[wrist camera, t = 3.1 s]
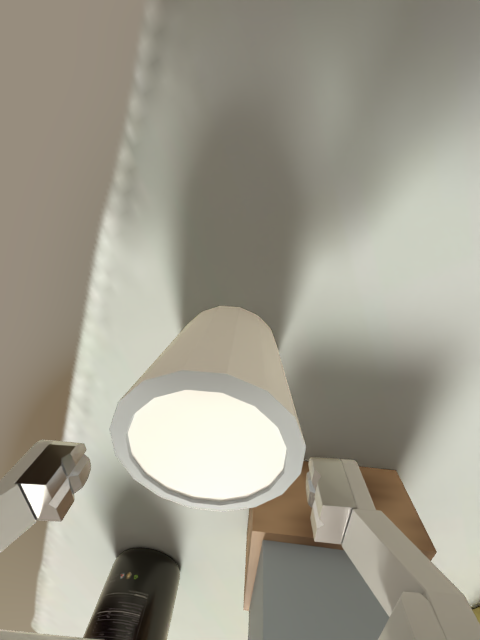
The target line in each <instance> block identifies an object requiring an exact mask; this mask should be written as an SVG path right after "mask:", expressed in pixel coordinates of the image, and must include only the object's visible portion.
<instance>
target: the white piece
mask: <svg viewBox="0 0 480 640" xmlns="http://www.w3.org/2000/svg"><path fill="white" fill-rule="evenodd" d="M109 430H110V434H111V438H112V443H113V447H114V451H115V456H116V457H117V458H118V460H119V461H120V462H121V463H122V465H123V466H124V467H125V469H126V470H127V471H128V473H129V474H130V475H131V476H132V478H133V479H134V480H136V481H137V482H139V483H140V484H141V485H143V486H144V487H146V488H147V489H149V490H150V491H152V492H153V493H155V494H156V495H158V496H159V497H161V498H164V499H167V500H170V501H172V502H175V503H178V504H181V505H184V506H186V507H189V508H194V509H203V510H213V511H222V512H225V511H232V510H239V509H246V508H253V507H257V506H259V505H261V504H263V503H265V502H267V501H270V500H272V499H274V498H276V497H278V496H280V495H282V494H283V493H284V492H285V491H286V490H287V489H288V488H289V486H290V485H291V484H292V483H293V482H294V481H295V480H296V479H297V477H298V476H299V475H300V474H301V470H302V465H303V460H304V455H305V451H306V445H305V441H304V438H303V434H302V431H301V427H300V424H299V420H298V417H297V413H296V410H295V407H294V403H293V400H292V396H291V393H290V389H289V386H288V382H287V379H286V375H285V372H284V369H283V365H282V362H281V358H280V355H279V351H278V348H277V345H276V342H275V339H274V336H273V333H272V330H271V328H270V327H269V326H268V325H267V324H266V323H265V322H264V321H263V320H262V319H261V318H260V317H259V316H258V315H256V314H254V313H252V312H250V311H247V310H245V309H243V308H241V307H232V306H218V307H214V308H211V309H208V310H205V311H202V312H201V313H200V314H198V315H197V316H196V317H195V318H194V319H193V320H192V321H191V322H189V323H188V324H187V326H186V327H185V328H184V329H183V330H182V331H181V332H180V333H179V335H178V336H177V337H176V338H175V339H174V340H173V341H172V342H171V343H170V345H169V346H168V347H167V348H166V349H165V350H164V351H163V352H162V354H161V355H160V356H159V357H158V358H157V359H156V360H155V361H154V363H153V364H152V365H151V366H150V367H149V368H148V369H147V370H146V372H145V373H144V374H143V375H142V376H141V377H140V378H139V379H138V380H137V382H136V383H135V384H134V385H133V386H132V387H131V388H130V389H129V391H128V392H127V393H126V394H125V395H124V396H123V397H122V398H121V400H120V401H119V402H118V404H117V407H116V410H115V413H114V416H113V419H112V422H111V425H110V428H109Z"/></svg>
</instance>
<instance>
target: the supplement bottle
mask: <svg viewBox="0 0 480 640" xmlns="http://www.w3.org/2000/svg"><path fill="white" fill-rule="evenodd" d="M179 579H180V571H179V567H178V565H177V564H176V562H175V561H174V560H173V559H172V558H170V557H169V556H168V555H166V554H164V553H162V552H159V551H156V550H152V549H147V548H134V549H129V550H126V551H124V552H123V553H121V554H120V555H119V556H118V557H117V558H116V560H115V562H114V564H113V566H112V569H111V571H110V573H109V576H108V578H107V581H106V583H105V585H104V588H103V590H102V593H101V595H100V598H99V600H98V602H97V605H96V607H95V610H94V612H93V615H92V617H91V620H90V622H89V624H88V627H87V629H86V632H85V634H84V637H83V638H89V639H99V640H167V636H168V631H169V627H170V622H171V617H172V613H173V608H174V603H175V599H176V594H177V589H178V584H179Z"/></svg>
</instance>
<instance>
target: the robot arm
mask: <svg viewBox="0 0 480 640" xmlns="http://www.w3.org/2000/svg"><path fill="white" fill-rule="evenodd" d="M85 452H86V447H85V444H84V443H74V442H63V441H51V440H40V441H39V442H37V443H35V444H34V445H33V446H32V447H31V449H30V450H29V451H28V452H27V453H26V454H25V455H24V456H23V457H22V458H21V459H20V460H19V461H18V462H17V463H16V464H15V466H13V468H12V469H11V470H10V471H9V472H8V473H7V474H6V475H5V476H4V477H3V478H2V479H1V480H0V552H2V551H3V550H4V549H5V548H6V547H7V546H9V545H10V544H11V543H12V542H13V541H14V540H16V539H17V538H18V537H19V536H20V535H21V534H23V533H24V532H25V531H26V530H27V529H29V528H30V527H31V526H32V525H33V524H34V523H36V520H41V521H62V520H63V518H64V516H65V515H66V513H67V512H68V510H69V508H70V507H71V505H72V504H73V502H74V493H76V492H77V491H78V490H80V489H81V488H82V487H83V486H84V484H85V482H86V481H87V479H88V476H89V473H90V470H91V463H90V459H89V458H88V457H87V456H86V455H85V454H84V453H85ZM308 465H309V472H308V473H307V475H306V495H307V502H308V505H309V506H310V507H311V508H312V512H311V517H310V519H311V525H312V531H313V536H314V541H315V542H324V543H333V544H342V548H343V549H344V550H345V552H346V553H347V555H348V556H349V558H350V559H351V561H352V562H353V564H354V565H355V567H356V568H357V570H358V571H359V573H360V574H361V576H362V577H363V579H364V580H365V582H366V583H367V585H368V586H369V588H370V589H371V591H372V592H373V594H374V595H375V597H376V598H377V600H378V601H379V603H380V604H381V606H382V607H383V609H384V610H385V611H386V613H387V614H388V616H389V619H388V621H387V623H386V625H385V627H384V629H383V631H382V633H381V634H380V636H379V638H378V640H480V624H479V622H478V620H477V618H476V616H475V614H474V613H473V611H472V609H471V607H470V605H469V603H468V601H467V599H466V597H465V596H464V595H463V594H462V593H461V592H460V590H459V589H458V588H457V587H456V586H455V585H454V584H453V583H452V582H451V581H450V580H449V579H448V578H447V577H446V576H445V575H444V574H443V573H442V572H441V571H440V570H439V569H438V568H437V567H436V566H435V565H434V564H433V563H432V562H431V561H430V560H429V559H428V558H427V557H426V556H425V555H424V554H423V553H422V552H421V551H420V550H419V549H418V548H417V547H416V546H415V545H414V544H413V543H412V542H411V541H410V540H409V539H408V538H407V537H406V536H405V535H404V534H403V533H402V532H401V531H400V530H399V529H398V528H397V527H396V526H395V525H394V524H393V523H392V521H391V520H390V519H389V518H388V517H387V516H386V515H385V514H384V513H383V512H382V511H379V510H376V509H375V506H374V504H373V501H372V499H371V496H370V494H369V491H368V489H367V486H366V484H365V481H364V479H363V476H362V474H361V471H360V469H359V466H358V464H357V462H356V461H355V460H350V459H338V458H318V457H310V459H309V463H308ZM0 640H99V639H89V638H79V637H69V636H59V635H49V634H39V633H29V632H19V631H10V630H0Z"/></svg>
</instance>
